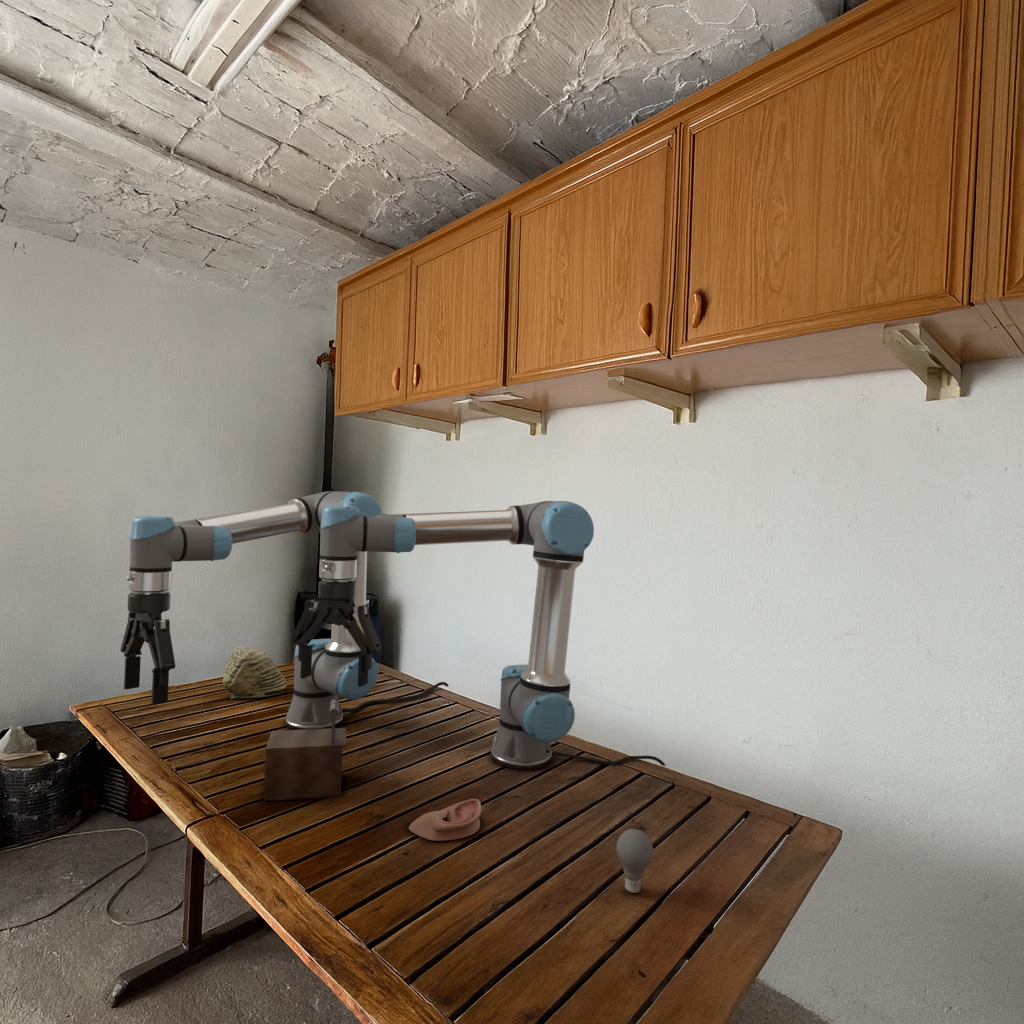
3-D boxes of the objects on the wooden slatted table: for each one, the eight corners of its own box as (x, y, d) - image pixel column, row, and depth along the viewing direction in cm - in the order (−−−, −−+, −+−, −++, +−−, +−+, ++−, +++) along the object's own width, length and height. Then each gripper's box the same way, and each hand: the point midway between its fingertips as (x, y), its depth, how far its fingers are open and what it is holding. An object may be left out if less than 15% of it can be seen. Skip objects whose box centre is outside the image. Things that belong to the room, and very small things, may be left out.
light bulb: (610, 879, 108) (613, 822, 108) (644, 879, 109) (647, 822, 109) (619, 902, 102) (622, 840, 102) (655, 901, 103) (658, 840, 103)
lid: (345, 731, 144) (347, 696, 144) (345, 748, 135) (347, 710, 134) (271, 734, 140) (272, 698, 140) (265, 752, 131) (267, 713, 130)
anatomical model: (403, 815, 119) (423, 788, 130) (402, 836, 119) (423, 807, 131) (471, 825, 117) (486, 797, 128) (470, 847, 117) (485, 817, 128)
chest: (341, 775, 144) (343, 731, 144) (340, 795, 135) (342, 748, 134) (269, 780, 140) (271, 734, 140) (263, 801, 131) (265, 752, 131)
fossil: (218, 695, 195) (220, 647, 195) (278, 685, 208) (279, 640, 207) (228, 703, 189) (230, 653, 188) (289, 692, 201) (290, 645, 201)
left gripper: (105, 585, 134) (101, 685, 134) (156, 601, 118) (151, 714, 118) (144, 583, 140) (139, 679, 140) (197, 598, 124) (192, 705, 124)
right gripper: (275, 576, 132) (271, 678, 132) (382, 586, 125) (378, 693, 125) (297, 573, 139) (293, 669, 140) (400, 582, 132) (396, 683, 132)
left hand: (145, 695), depth 129 cm, fingers open, 13 cm apart
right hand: (333, 681), depth 132 cm, fingers open, 13 cm apart
